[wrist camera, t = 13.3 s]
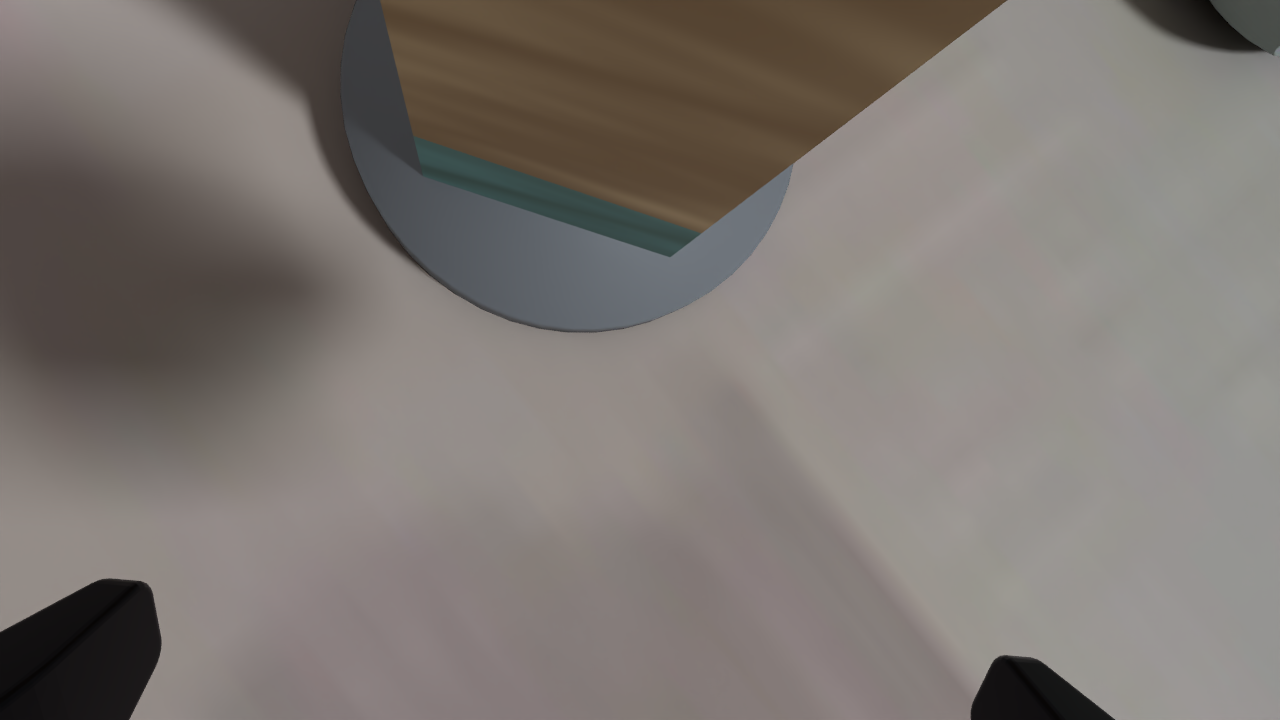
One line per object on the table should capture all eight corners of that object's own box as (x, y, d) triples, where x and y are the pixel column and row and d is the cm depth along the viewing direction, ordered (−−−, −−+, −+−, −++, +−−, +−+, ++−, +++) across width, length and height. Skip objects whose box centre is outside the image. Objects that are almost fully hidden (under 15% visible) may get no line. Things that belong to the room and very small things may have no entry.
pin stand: (400, 372, 17) (367, 359, 12) (308, -78, 17) (235, -282, 12) (815, 291, 19) (935, 251, 14) (731, -100, 19) (821, -276, 14)
